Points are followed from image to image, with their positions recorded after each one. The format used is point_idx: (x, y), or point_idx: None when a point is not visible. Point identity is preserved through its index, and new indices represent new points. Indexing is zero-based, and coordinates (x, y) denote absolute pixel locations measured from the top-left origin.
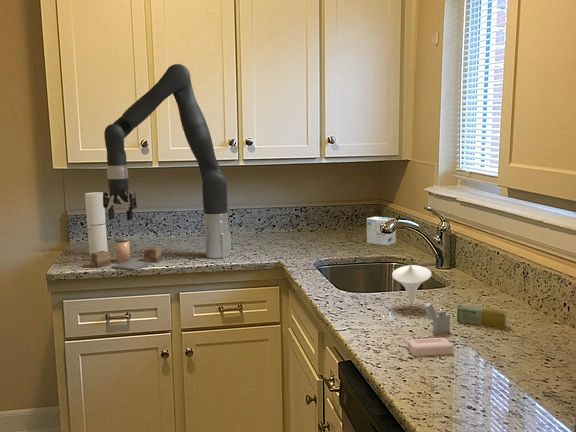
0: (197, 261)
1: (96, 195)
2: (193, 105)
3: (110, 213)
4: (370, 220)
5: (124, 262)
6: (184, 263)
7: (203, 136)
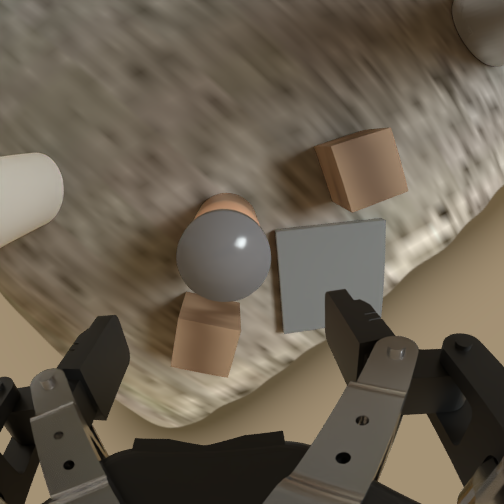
0: (482, 114)
1: None
2: None
3: (116, 393)
4: None
5: (284, 271)
6: (467, 154)
7: None
